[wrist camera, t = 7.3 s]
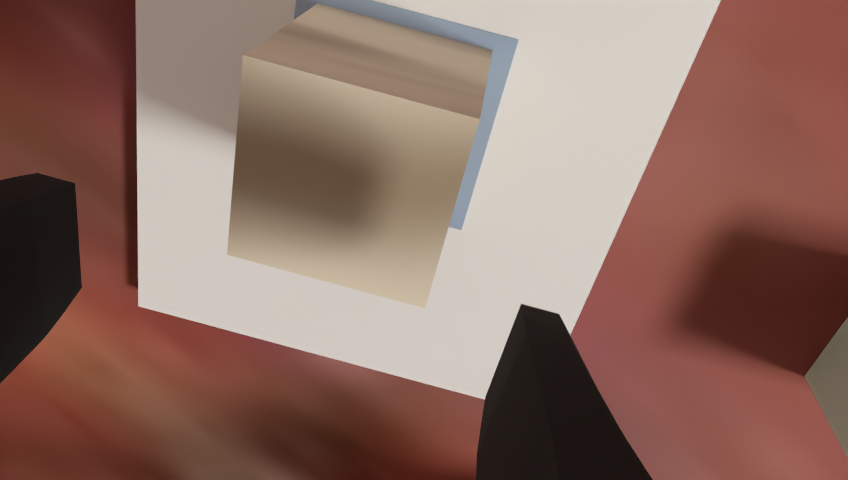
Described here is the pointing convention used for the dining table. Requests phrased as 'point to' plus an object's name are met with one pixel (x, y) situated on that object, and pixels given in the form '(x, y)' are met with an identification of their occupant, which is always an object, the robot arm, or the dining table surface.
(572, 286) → the white flat slab
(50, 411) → the dining table surface
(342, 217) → the maple block
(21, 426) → the dining table surface
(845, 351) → the sage block
